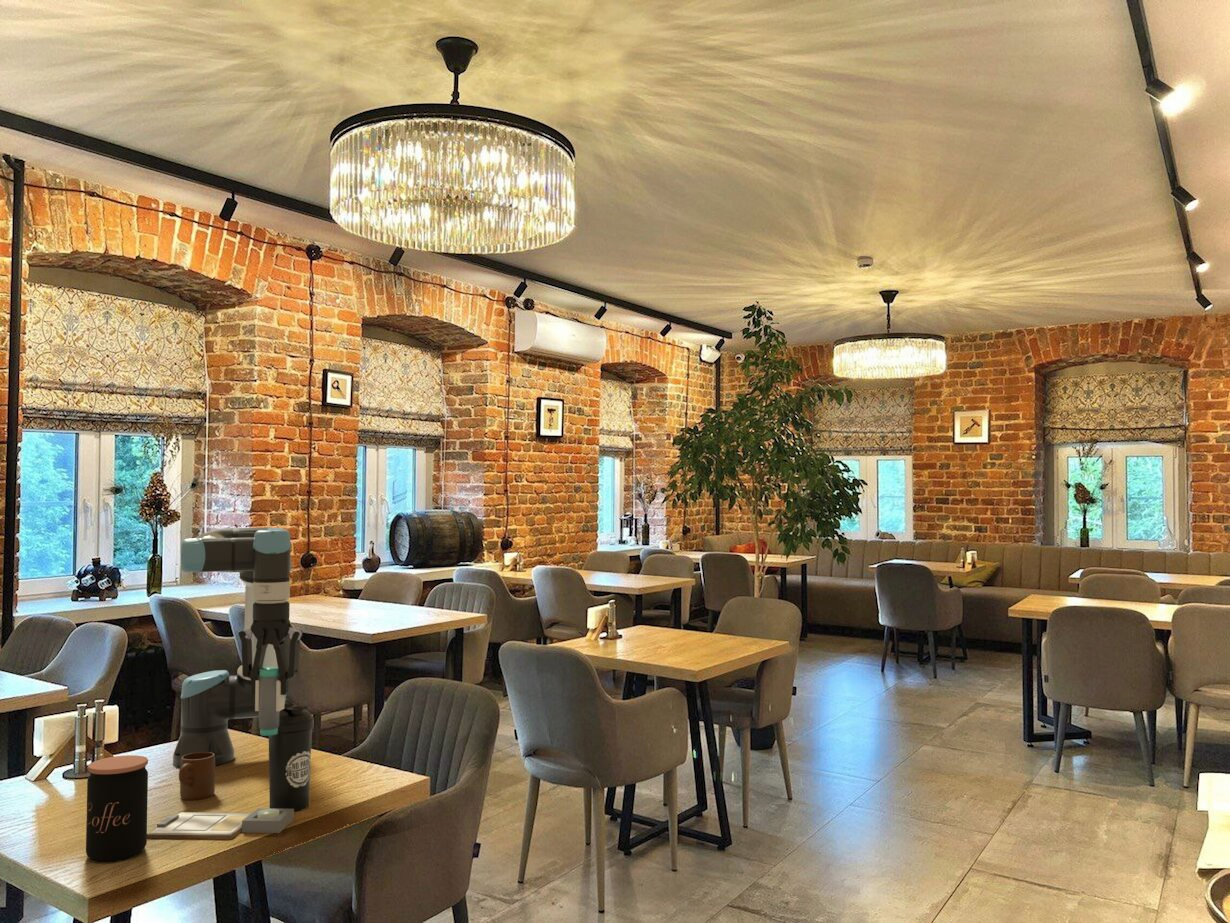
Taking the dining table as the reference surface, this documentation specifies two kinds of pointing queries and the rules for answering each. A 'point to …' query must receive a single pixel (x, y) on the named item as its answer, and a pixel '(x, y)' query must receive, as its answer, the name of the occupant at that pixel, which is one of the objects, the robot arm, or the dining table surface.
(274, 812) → the button
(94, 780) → the coffee jar
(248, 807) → the dining table surface
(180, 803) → the dining table surface
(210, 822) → the board
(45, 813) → the dining table surface
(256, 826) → the button housing
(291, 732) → the water bottle
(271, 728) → the marker
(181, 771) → the mug
